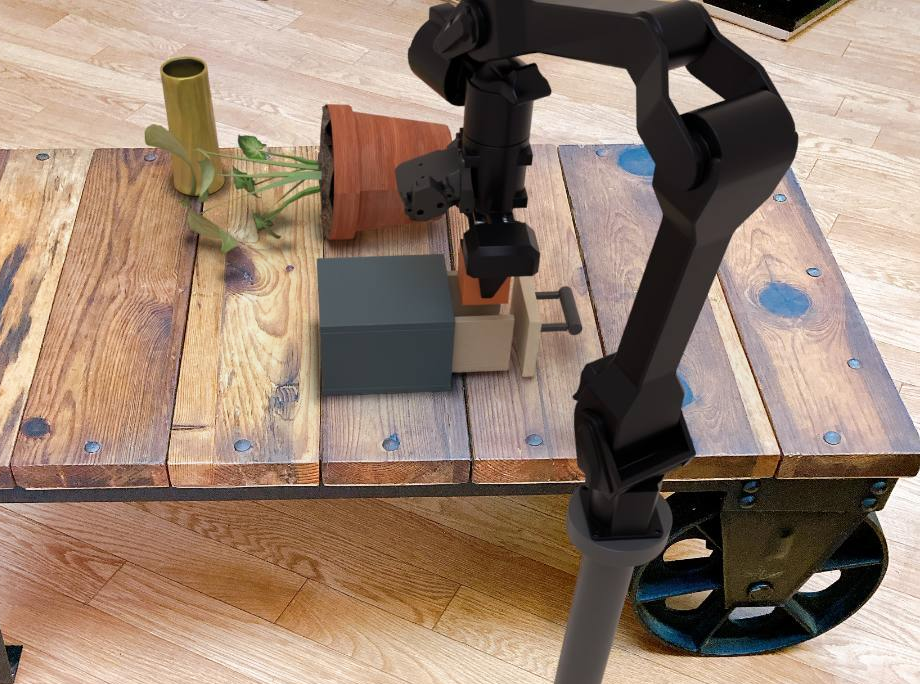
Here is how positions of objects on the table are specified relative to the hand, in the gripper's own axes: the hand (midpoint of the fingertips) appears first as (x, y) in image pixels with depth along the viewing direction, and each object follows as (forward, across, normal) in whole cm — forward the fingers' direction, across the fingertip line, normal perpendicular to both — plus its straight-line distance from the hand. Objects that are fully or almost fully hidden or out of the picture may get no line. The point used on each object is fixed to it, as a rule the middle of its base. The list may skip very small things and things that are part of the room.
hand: (483, 282), depth 106 cm
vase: (+9, -34, -30) cm, 46 cm away
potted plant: (+9, -22, -18) cm, 30 cm away
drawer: (+8, 0, +2) cm, 8 cm away
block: (+1, 0, 0) cm, 1 cm away
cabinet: (+9, 0, -10) cm, 13 cm away
